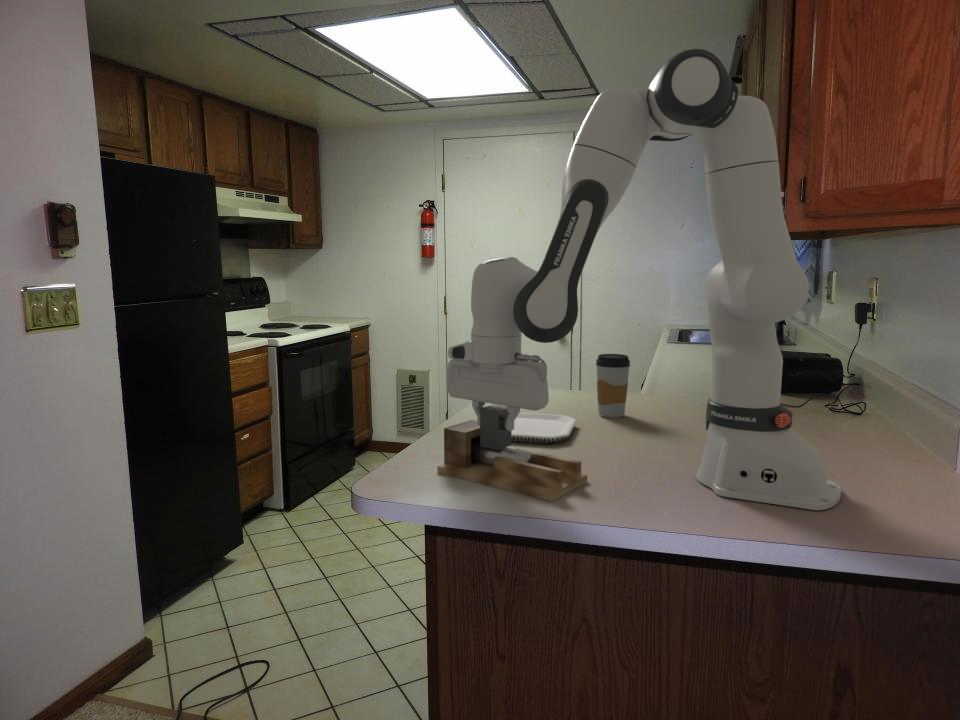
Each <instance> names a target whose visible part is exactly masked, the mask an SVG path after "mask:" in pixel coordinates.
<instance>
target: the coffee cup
mask: <svg viewBox="0 0 960 720" xmlns="http://www.w3.org/2000/svg"><path fill="white" fill-rule="evenodd" d="M595 361H596V363H595V365H596V390H597V391H596V392H597V395H596V396H597V398H596V399H597V409H598V410H597V411H598V414H599V416H600V415H601V416H600V417H602V416H603V417H602V418H606V417H610V418H609V419H620V418H623V417H624V415H625V413H626V402H627V396H628V395H627V394H628V385H629V372H630V367H631V363H630V362H631V360H630V359H629V356H628V355H627V354H621V353H601V354H598V356H597V359H596V360H595ZM622 416H623V417H622ZM619 417H620V418H619Z"/></svg>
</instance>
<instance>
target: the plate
mask: <svg viewBox="0 0 960 720" xmlns="http://www.w3.org/2000/svg"><path fill="white" fill-rule="evenodd" d="M577 421H578V420H577V419H576V418H575V417H571V416H568V415H564V414H551V413H550V414H547V413H546V414H545V413H534V412H533V413H532V412H531V413H530V412H519V414H518V416H517V417H516V419H515V420H514V430H512V431H511V442H516V441H518V442H517V443H519V442H520V443H530V442H534V443H533V444H543V443H549V444H553V442H555V443H560V442H562V441H564V440H566V439H567V438H570V437H569V436H570V435H571V434H572V431H573V429H575V426H576V424H577ZM559 441H560V442H559Z"/></svg>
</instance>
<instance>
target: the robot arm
mask: <svg viewBox="0 0 960 720" xmlns="http://www.w3.org/2000/svg"><path fill="white" fill-rule="evenodd" d="M690 136H693V137H694V138H695V139H697V141H698V143H699V144H700V147H701V150H702V153H703V156H704V172H705V185H706V197H707V205H708V206H707V207H708V215H709V217H708V218H709V223H710V226H711V228H712V229H713V232H714V234H715V238H716V241H717V245H718V247H719V252H720V256H721V260H720V261H719V262H718V263H716V264H715V265H714V266H713V267H712V268H711V269H710V270H709V272H708V274H707V275H706V278H705V282H704V292H705V296H706V300H707V312H708V314H707V315H708V325H709V334H710V335H709V336H710V340H711V341H710V343H711V379H710V394H709V396H710V397H709V398H708V399H707V405H706V409H705V410H706V411H705V429H706V431H707V432H706V438H705V444H704V448H703V452H702V453H703V454H702V457H701V460H700V464H699V466H698V470H697V472H696V475H695V478H696V480H698V482H699V483H701V484H702V485H704V486H706V487H708V488H710V489H712V491H714V493H715V494H716V495H718V496H720V497H726V498H732V499H739V500H743V501H752V502H757V503H766V504H769V505H770V504H773V505H778V506H783V507H784V506H786V507H790V508H798V509H804V510H811V511H823V510H824V511H825V510H828V509H830V508H833V507H835V506H836V505H837V504H839V502H840V500H841V498H842V489H841V487H840V485H839V484H838V483H836V482H834V481H832V480H828V475H827V474H828V473H827V465H826V462H825V459H824V457H823V454H822V453H821V452H820V451H819V450H818V449H816V447H814V446H812V445H811V444H810V443H809V442H808V441H807V440H806V439H804V438H803V437H802V436H801V434H798V432H796V431H795V430H794V429H793V428H792V425H793V416H794V414H793V413H794V409H793V408H791V409H788V408H787V407H786V406H784V405H783V404H782V403H781V395H782V394H781V392H782V381H783V380H782V379H783V378H782V377H783V365H784V359H783V358H784V357H783V354H782V352H781V348H780V346H779V343H778V337H777V332H776V323H779V322H781V321H785V320H787V319H790V318H791V317H794V316H795V315H796V314H797V313H798V312H799V311H800V310H801V309H802V308H803V306H804V305H805V303H806V301H807V299H808V296H809V292H810V291H809V290H810V289H809V288H810V286H809V279H808V277H807V274H806V273H805V271H804V270H803V268H802V267H801V266H800V264H799V262H798V260H797V257H796V253H795V250H794V246H793V242H792V239H791V236H790V233H789V229H788V225H787V222H786V219H785V213H784V209H783V208H784V206H783V198H782V197H783V196H782V187H781V186H782V185H781V176H780V163H779V154H778V153H779V152H778V145H777V139H776V134H775V130H774V125H773V121H772V118H771V115H770V110H769V108H768V106H767V104H766V102H764V101H763V100H762V99H760V98H758V97H755V96H752V95H751V96H750V95H739V88H738V86H737V84H736V83H735V82H734V81H733V79H732V78H731V77H730V75H729V73H728V71H727V69H726V66H724V64H723V61H721V59H720V58H719V57H718V56H716V55H715V54H714V53H713V52H711V51H708V50H706V49H703V48H692V49H691V48H690V49H685V50H683V51H680V52H679V53H675V54H674V55H673V56H671V57H670V58H669V59H668V60H667V61H665V63H663V64H662V66H661V67H660V70H659V71H658V72H657V73H656V74H655V76H654V77H653V78H652V80H651V82H650V84H649V85H648V86H647V87H646V88H644V89H636V90H634V89H633V88H629V87H625V86H614V87H609V88H606V89H604V90H603V91H602V92H601V93H600V94H598V96H597V97H596V99H595V100H594V102H593V104H592V105H591V107H590V109H589V111H588V112H587V114H586V116H585V118H584V120H583V121H582V123H581V126H580V128H579V130H578V133H577V135H576V137H575V139H574V142H573V145H572V148H571V151H570V153H569V156H568V160H567V163H566V166H565V171H564V175H563V179H562V180H563V181H562V187H561V206H560V212H559V218H558V221H557V223H556V224H557V225H556V227H555V230H554V232H553V236H552V237H551V240H550V243H549V245H548V248H547V251H546V252H545V256H544V258H543V260H542V263H541V265H540V266H539V269H538V270H536V269H533V268H531V267H529V265H528V266H527V265H526V264H525V263H523V262H522V261H521V260H519V259H518V258H517V257H514V256H506V257H499V258H494V259H489V260H485V261H483V262H481V263H480V264H478V265H477V266H476V268H475V269H474V270H473V276H472V281H471V293H470V294H471V295H470V311H471V314H472V319H473V320H472V322H473V323H472V327H471V330H470V340H469V341H465V342H464V343H463V342H462V343H460V344H456V345H453V346H450V347H449V348H448V349H447V355H448V358H449V359H450V360H449V362H448V364H447V366H446V383H445V384H446V385H445V387H446V392H447V393H448V395H449V397H450V398H455V399H460V400H461V399H462V400H468V401H471V407H472V408H473V411H474V413H475V415H476V416H477V420H476V421H477V424H478V425H480V408H483V407H484V406H485V405H486V404H491V405H493V404H494V405H500V406H506V407H507V412H510V413H509V415H508V417H507V419H506V420H502V425H503V426H502V429H503V430H506V431H512V430H514V420H515V419H516V417H517V416H518V414H519V413H521V409H522V410H523V409H524V410H529V411H534V412H535V411H539V410H542V409H544V408H546V406H548V404H549V402H550V401H549V399H550V398H549V397H550V396H549V383H548V378H547V377H548V376H547V375H548V365H547V363H546V362H545V360H544V359H543V358H541V357H540V356H539V355H537V354H528V353H522V334H523V335H524V336H525V337H526V338H528V339H530V340H532V341H534V342H536V343H543V344H547V343H554V342H558V341H560V340H562V339H563V338H565V337H566V336H567V335H568V334H569V333H571V331H572V330H573V328H574V327H575V325H576V322H577V319H578V314H579V300H578V286H579V282H580V279H581V275H582V272H583V269H584V267H585V265H586V262H587V260H588V257H589V254H590V252H591V249H592V246H593V244H594V241H595V239H596V237H597V234H598V232H599V231H600V228H601V227H602V226H603V224H604V222H605V221H606V220H607V218H608V217H609V216H610V215H611V214H612V212H613V211H614V209H615V208H616V207H617V206H618V204H619V203H620V201H621V200H622V198H623V196H624V194H625V193H626V191H627V189H628V187H629V185H630V183H631V181H632V179H633V177H634V174H635V172H636V170H637V167H638V165H639V161H640V159H641V156H642V154H643V151H644V150H645V147H646V145H647V144H648V142H649V141H656V142H658V141H661V142H676V141H681V140H683V139H687V138H688V137H690Z"/></svg>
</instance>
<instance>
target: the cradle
mask: <svg viewBox="0 0 960 720" xmlns="http://www.w3.org/2000/svg"><path fill="white" fill-rule="evenodd" d="M471 440H473V441H478V442H480V425H478V424H477V420H476V419H475V420H474V419H471V420H467V421H464V422H461V423H457V424H454V425H451V426H447V427H444V428H443V449H444V450H443V457H444V458H443V459H444V460H443V462H444V463H442V464H438V465H437V473H438V474H443V475H446V476H449V477H454V478H458V479H461V480H465V481H470V482H473V483H478V484H481V485H485V486H489V487H491V488H492V487H493V488H496V489H500V490H505V491H508V492H513V493H516V494H520V495H524V496H527V497H532V498H536V499H540V500H542V501H543V500H544V501H547V502H549V503H550V502H553V501H556V500H557V499H559V498H560V497H562V496H564V495H566V494H567V493H569V492H571V491H573V490H575V489H577V488H578V487H581V486H582V485H584V484H586V483H587V482H588V474H584V473H582V461H580V460H575V459H570V458H566V457H562V456H556V455H551V454H547V453H541V452H537V451H532V450H528V449H523V448H516V450H520V451H525V452H530V453H532V454H533V456H534V464H530V463H526V462H521V461H517V460H512V459H508V458H503V457H499V456H498V457H495V458H494V465H489V464H485V463H481V462H476V461H472V460H471Z"/></svg>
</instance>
